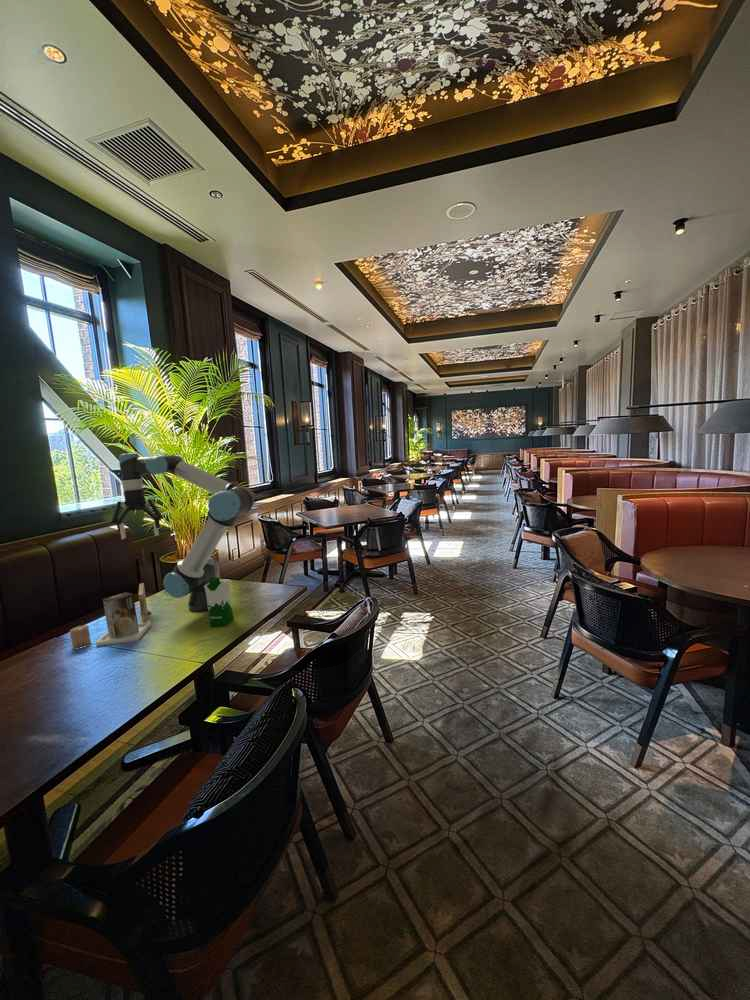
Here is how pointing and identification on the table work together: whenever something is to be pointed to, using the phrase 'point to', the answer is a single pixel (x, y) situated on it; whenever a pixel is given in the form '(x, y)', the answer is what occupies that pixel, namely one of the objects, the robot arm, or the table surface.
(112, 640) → the tray
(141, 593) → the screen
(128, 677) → the table surface
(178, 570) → the robot arm
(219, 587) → the milk carton
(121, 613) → the coffee box
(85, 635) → the brown domed capsule
